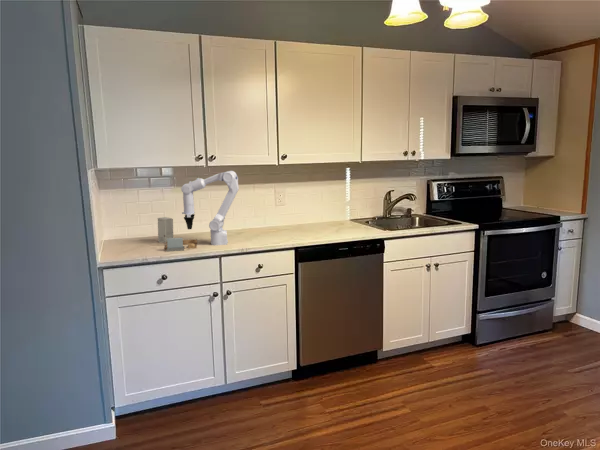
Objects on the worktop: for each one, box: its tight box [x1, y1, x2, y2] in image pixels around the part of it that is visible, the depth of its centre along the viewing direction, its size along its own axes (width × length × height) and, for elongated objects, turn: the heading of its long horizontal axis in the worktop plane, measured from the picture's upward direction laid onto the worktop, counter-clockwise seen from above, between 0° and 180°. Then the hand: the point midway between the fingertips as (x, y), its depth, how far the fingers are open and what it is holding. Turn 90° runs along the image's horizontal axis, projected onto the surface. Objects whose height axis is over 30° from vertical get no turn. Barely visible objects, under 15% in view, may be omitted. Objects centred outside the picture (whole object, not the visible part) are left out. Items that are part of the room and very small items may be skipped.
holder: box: [166, 245, 186, 253], centre depth 246 cm, size 9×4×3 cm, turn 101°
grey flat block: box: [166, 237, 184, 248], centre depth 245 cm, size 2×8×7 cm, turn 102°
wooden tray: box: [164, 239, 198, 251], centre depth 255 cm, size 17×12×4 cm
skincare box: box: [157, 216, 174, 243], centre depth 271 cm, size 8×6×15 cm
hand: (190, 228), depth 260 cm, fingers open, 7 cm apart
